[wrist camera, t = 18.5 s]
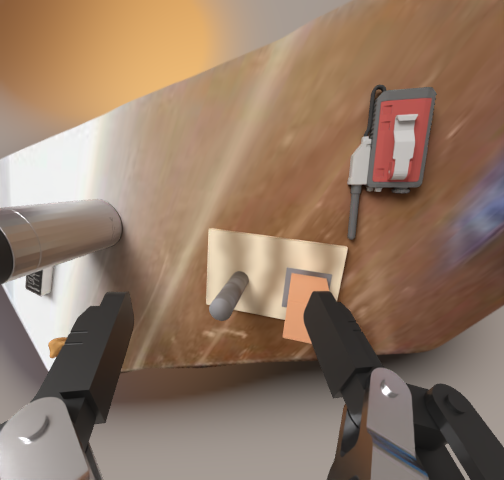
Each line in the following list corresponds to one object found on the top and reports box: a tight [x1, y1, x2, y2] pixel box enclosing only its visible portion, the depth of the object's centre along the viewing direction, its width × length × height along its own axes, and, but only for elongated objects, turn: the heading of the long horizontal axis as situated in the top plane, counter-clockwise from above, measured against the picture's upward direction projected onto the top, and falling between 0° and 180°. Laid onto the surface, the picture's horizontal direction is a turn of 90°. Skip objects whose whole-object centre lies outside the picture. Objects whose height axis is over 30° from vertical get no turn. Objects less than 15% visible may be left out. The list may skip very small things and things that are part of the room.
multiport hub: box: [25, 266, 53, 296], centre depth 49 cm, size 4×14×2 cm, turn 159°
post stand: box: [206, 228, 348, 321], centre depth 34 cm, size 22×14×11 cm, turn 85°
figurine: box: [48, 337, 67, 358], centre depth 44 cm, size 8×6×12 cm
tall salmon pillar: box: [283, 273, 329, 344], centre depth 33 cm, size 5×5×9 cm
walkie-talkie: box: [347, 85, 437, 240], centre depth 31 cm, size 9×4×20 cm
